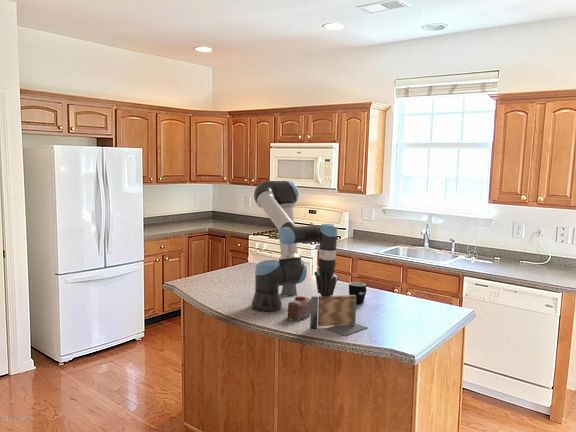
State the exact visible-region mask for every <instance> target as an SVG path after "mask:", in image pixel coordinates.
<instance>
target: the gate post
mask: <svg viewBox="0 0 576 432" xmlns="http://www.w3.org/2000/svg"><path fill="white" fill-rule="evenodd" d="M310 299H311V313H310V321H309V322H310V324H309V328H310V329H311V330H317V329H318V307H319V296H315V295H314V296H311V297H310ZM310 329H309V330H310Z"/></svg>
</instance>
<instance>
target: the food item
mask: <svg viewBox="0 0 576 432" xmlns="http://www.w3.org/2000/svg"><path fill="white" fill-rule="evenodd" d="M309 315H311V298H310V297H308V296H295V297H294V300H292V301H289V302H288V304H287V316H286V318H287V319H288V320H291V321H295V322H298V321H300V320H301V319H306V318H307V317H309Z"/></svg>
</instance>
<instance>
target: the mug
mask: <svg viewBox="0 0 576 432" xmlns="http://www.w3.org/2000/svg"><path fill="white" fill-rule="evenodd" d="M366 294H367V283H364V282H361V281H352V282H349V283H348V295H356V305H362V304H364V302H365V298H366Z"/></svg>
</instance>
